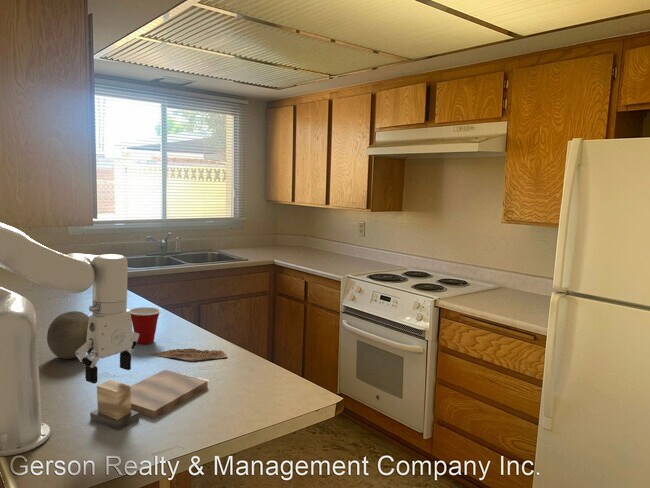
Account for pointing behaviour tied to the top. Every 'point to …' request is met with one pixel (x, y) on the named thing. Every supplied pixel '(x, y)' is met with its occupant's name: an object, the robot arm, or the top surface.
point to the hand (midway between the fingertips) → (109, 375)
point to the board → (163, 392)
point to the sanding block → (114, 405)
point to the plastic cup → (145, 323)
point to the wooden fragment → (191, 354)
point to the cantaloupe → (68, 334)
